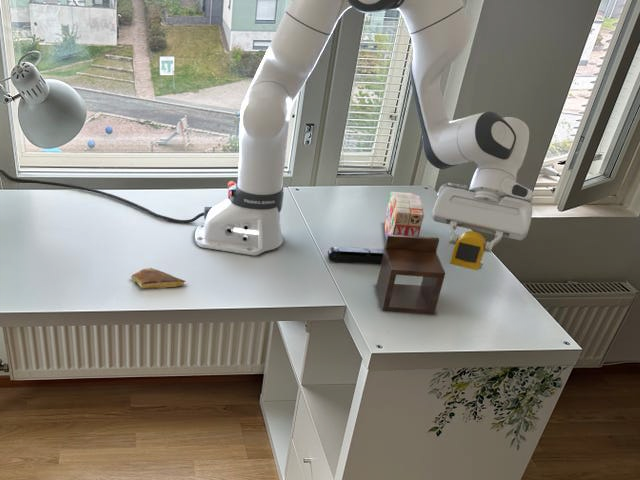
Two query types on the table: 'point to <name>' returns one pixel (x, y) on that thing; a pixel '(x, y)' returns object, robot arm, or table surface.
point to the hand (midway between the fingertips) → (469, 247)
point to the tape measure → (469, 250)
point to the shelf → (410, 274)
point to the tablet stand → (355, 255)
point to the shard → (155, 279)
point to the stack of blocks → (404, 214)
